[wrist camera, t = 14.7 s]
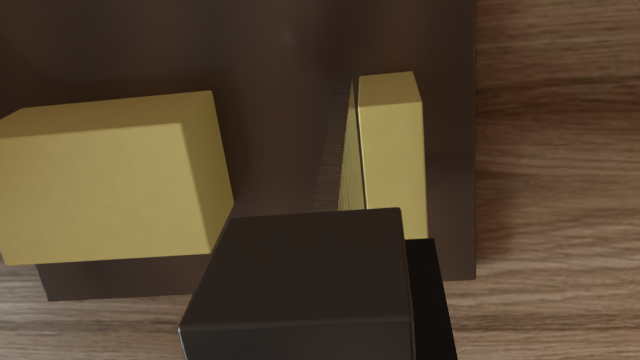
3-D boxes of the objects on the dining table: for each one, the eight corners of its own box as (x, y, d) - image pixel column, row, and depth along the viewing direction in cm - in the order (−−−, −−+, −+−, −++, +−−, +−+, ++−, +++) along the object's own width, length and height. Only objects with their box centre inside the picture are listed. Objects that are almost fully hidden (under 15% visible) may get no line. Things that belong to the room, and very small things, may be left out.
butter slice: (412, 70, 21) (422, 101, 17) (418, 191, 23) (428, 241, 19) (359, 75, 21) (357, 107, 17) (369, 195, 23) (370, 245, 20)
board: (469, -70, 20) (475, -69, 19) (471, 265, 26) (476, 280, 24) (-47, -6, 22) (-69, -3, 21) (60, 287, 28) (47, 302, 27)
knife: (302, 61, 15) (174, 327, 5) (383, 53, 15) (414, 317, 5) (336, 325, 19) (299, 785, 9) (402, 322, 19) (441, 793, 9)
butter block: (212, 89, 22) (181, 122, 18) (235, 204, 24) (211, 254, 20) (21, 107, 23) (-45, 142, 19) (58, 216, 25) (5, 266, 21)
